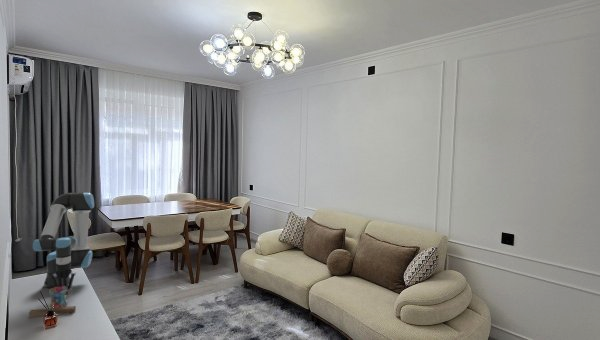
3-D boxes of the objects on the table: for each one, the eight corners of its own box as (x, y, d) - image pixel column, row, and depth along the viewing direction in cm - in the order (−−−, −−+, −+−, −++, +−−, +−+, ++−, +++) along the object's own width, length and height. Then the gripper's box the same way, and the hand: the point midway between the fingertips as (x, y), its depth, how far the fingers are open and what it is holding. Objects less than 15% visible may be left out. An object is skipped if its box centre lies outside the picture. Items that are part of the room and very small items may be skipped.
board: (31, 314, 189) (31, 309, 189) (75, 310, 195) (75, 305, 195) (29, 317, 187) (29, 312, 186) (73, 313, 192) (73, 308, 192)
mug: (49, 311, 194) (49, 294, 193) (47, 305, 201) (47, 288, 200) (74, 305, 202) (74, 288, 201) (71, 299, 209) (71, 283, 208)
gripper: (48, 265, 199) (48, 303, 200) (73, 264, 203) (73, 301, 204) (54, 261, 206) (54, 298, 207) (77, 260, 210) (78, 296, 211)
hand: (63, 299), depth 206 cm, fingers closed
